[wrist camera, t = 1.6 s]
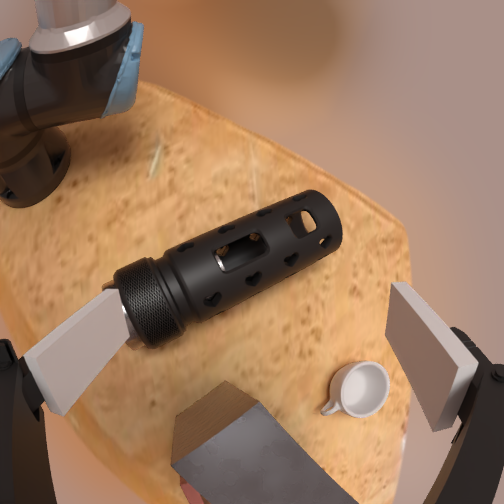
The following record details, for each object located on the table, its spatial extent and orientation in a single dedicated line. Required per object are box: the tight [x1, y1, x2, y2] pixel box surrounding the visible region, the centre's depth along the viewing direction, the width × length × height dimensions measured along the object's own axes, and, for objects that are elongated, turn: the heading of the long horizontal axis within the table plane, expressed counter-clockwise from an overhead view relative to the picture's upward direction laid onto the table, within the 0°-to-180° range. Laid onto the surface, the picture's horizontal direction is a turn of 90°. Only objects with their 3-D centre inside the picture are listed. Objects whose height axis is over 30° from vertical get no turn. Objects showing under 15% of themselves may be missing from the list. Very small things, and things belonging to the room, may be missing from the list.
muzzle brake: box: [102, 190, 343, 350], centre depth 36 cm, size 10×28×10 cm, turn 120°
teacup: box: [321, 361, 390, 418], centre depth 36 cm, size 10×8×5 cm
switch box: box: [171, 381, 359, 504], centre depth 25 cm, size 16×8×18 cm, turn 39°
